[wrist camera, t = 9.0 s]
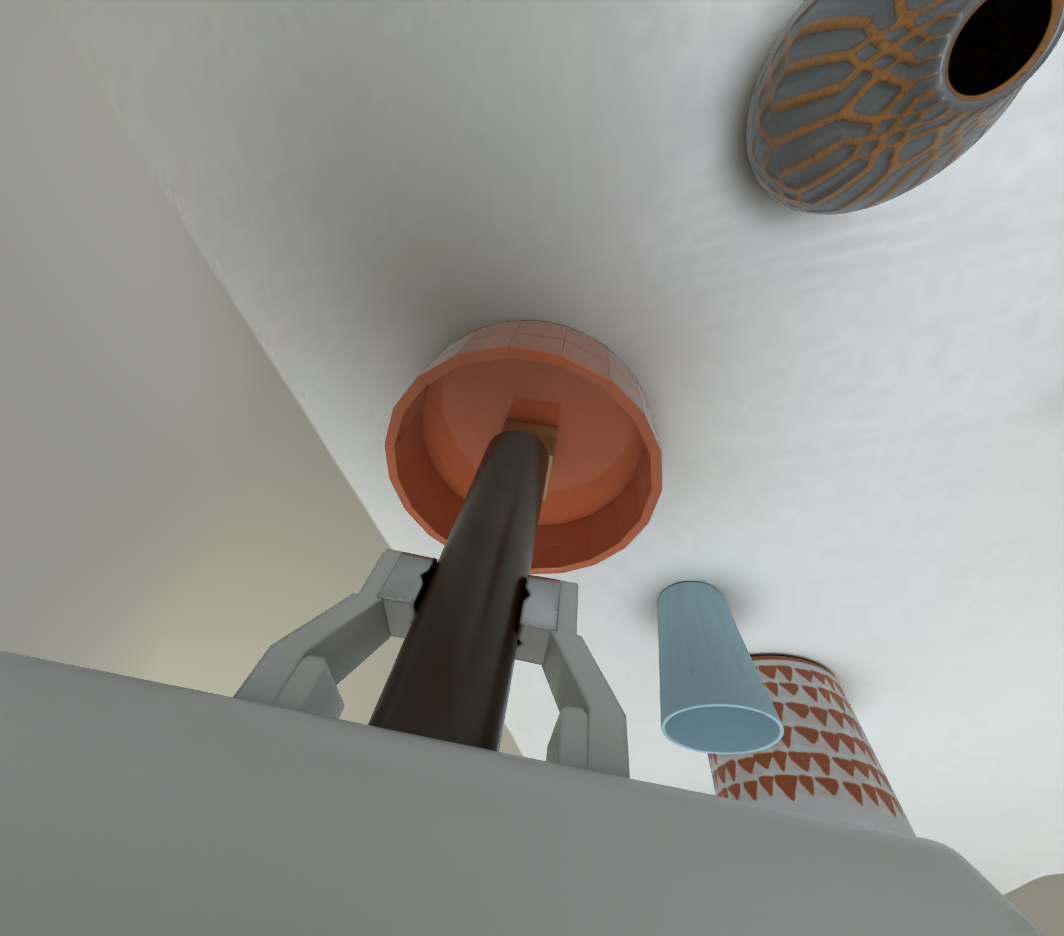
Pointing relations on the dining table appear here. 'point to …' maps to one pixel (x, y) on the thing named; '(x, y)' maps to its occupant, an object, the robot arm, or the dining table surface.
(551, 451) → the block
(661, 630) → the cup
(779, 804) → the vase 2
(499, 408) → the bowl
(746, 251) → the dining table surface
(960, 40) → the vase
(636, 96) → the dining table surface
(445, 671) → the dark brown cylinder
